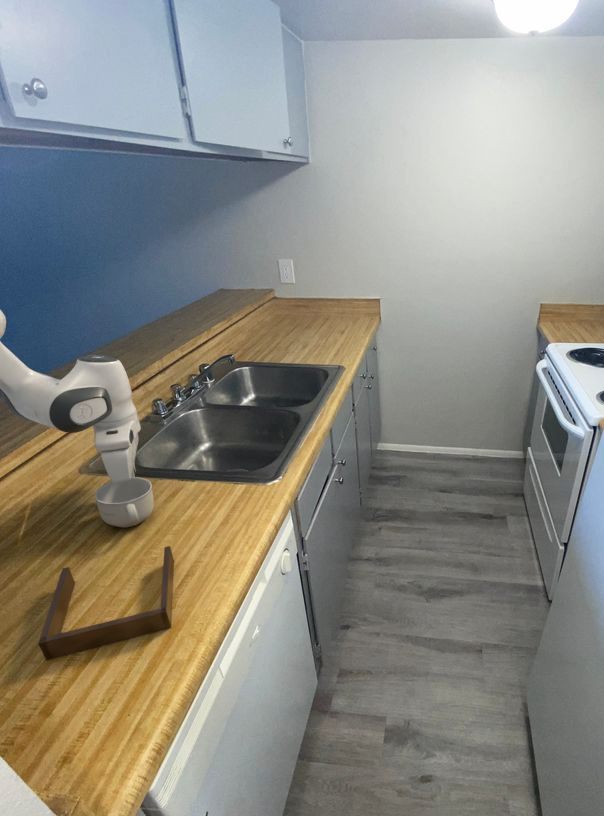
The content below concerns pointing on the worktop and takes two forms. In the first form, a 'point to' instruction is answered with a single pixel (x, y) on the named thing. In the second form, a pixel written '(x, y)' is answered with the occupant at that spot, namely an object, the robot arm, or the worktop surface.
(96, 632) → the dish corral
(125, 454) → the robot arm
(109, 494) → the teacup
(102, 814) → the worktop surface
